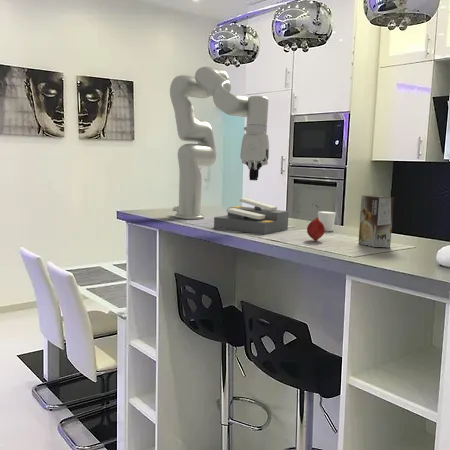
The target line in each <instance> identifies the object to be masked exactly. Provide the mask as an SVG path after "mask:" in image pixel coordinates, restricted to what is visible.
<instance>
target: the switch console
mask: <svg viewBox="0 0 450 450" xmlns="http://www.w3.org/2000/svg"><path fill="white" fill-rule="evenodd" d="M229 208H236V209H241V210H245V211H250V212H254V213H258V214H263V215H265V218H264V219H254V218H250V217H246V216H242V215H237V214H233V213H229V212H227V215H221V216H214V217H213V228H215V229H221V230H228V229H229V230H230V231H236V232H237V231H238V232H244V233H250V234H251V233H252V234H259V235H268V234H272V233H277V232H282V231H286V230H288V229H289V227H288V226H289V213H290V211H288V210H279V209H277V210H273V211H269V210H266V209H263V208H260V207H256V206H254V207H250V206H242V205H241V206H238V205H235V206H231V207H230V206H229V207H227V209H229ZM229 230H228V231H229Z"/></svg>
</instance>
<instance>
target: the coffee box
mask: <svg viewBox="0 0 450 450" xmlns="http://www.w3.org/2000/svg"><path fill="white" fill-rule="evenodd" d="M360 198H361V199H360V201H361V202H360V212H359V213H360V215H359V228H358V231H359V232H358V244H359V243H360V244H359V245H363V244H364V246H367V245H368V246H367V247H371V246H372V247H371V248H374V247H386V248H391V242H392V232H393V217H394V216H393V215H394V204H395V197H392V196H383V195H371V194H369V195H361V197H360Z"/></svg>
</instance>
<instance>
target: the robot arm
mask: <svg viewBox="0 0 450 450" xmlns="http://www.w3.org/2000/svg"><path fill="white" fill-rule="evenodd" d="M231 90H232V85H231V82H230V81H229V75H228V73H227V72H226V71H225V70H224V69H221V68H217V67H211V66H202V67H199V68H198V69H197V70H196V71H195V74H194V75H188V74H187V75H186V74H184V75H183V74H181V75H177V76H175V77H174V78H173V79H172V81H171V83H170V86H169V97H170V101H171V104H172V107H173V110H174V111H173V112H174V115H175V116H174V117H175V124H176V131H177V135H178V139H180V140H181V141H184V142H190V143H185V144H182V145H181V146H180V147H179V148H178V150H177V159H178V169H179V172H178V173H179V180H178V182H179V185H178V188H179V189H178V206H174V207H172V212H176V213H175V214H174V217H175V218H178V219H184V220H185V219H187V220H188V219H189V220H200V219H204V218H205V215H204V214H203V213H201V209H202V186H203V185H202V181H203V180H202V179H203V178H202V172H201V170H200V168H199V167H212V166H213V165H214V164H215V162H216V159H217V150H216V143H215V135H214V131H213V128H212V126H211V124H210V123H209V121H208V122H207V121H206V120H203V119H201V120H200V119H197V118H196V113H195V109H194V105H193V104H192V101H190V99H189V98H188V97H190V98H197V99H207V98H210V97H212V101H213V103H214V106H216V108H218V109H219V110H220V111H221V112H222V113H225V114H226V115H228V116H233V117H234V116H235V117H241V118H246V126H244V127H243V131H245V133H243V136H242V140H241V147H240V160H241V164H244V165H246V166H247V168H248V170H249V175H248V177H249V181H258V179H259V173H260V172H259V171H260V170H261V168H262V167H263V166H266V165H267V166H268V163H269V162H268V160H269V157H270V143H269V142H270V141H269V140H270V139H269V135H268V134H267V133H268V132H267V130H268V116H269V115H268V113H269V112H268V111H269V99H268V97H267V96H264V95H251V96H245V95H244V96H243V95H238V94H233V93H231Z"/></svg>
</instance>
